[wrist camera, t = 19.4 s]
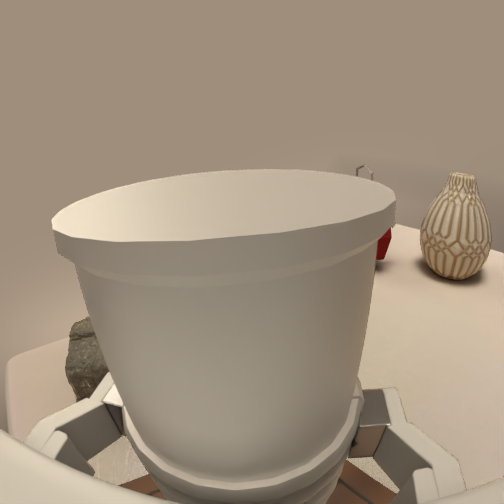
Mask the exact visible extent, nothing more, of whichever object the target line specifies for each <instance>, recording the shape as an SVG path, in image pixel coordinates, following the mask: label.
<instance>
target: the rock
mask: <svg viewBox="0 0 504 504" xmlns="http://www.w3.org/2000/svg"><path fill="white" fill-rule="evenodd" d="M69 337H70V342H69V349H68V351H69V353H68V356H67V358H66V366H65V371H66V376H67V378H68V382H69V384H70V385H71V386H72V388H73V391H74V393H75V395H76V397H77V401H76V403H77V402H79V401H81V400H83V399H85V398H88V399H89V398H90V397H91V396H92V394H93V393H94V391H95V390H96V388H97V387H98V386H99V384H100V383H101V381H102V380H103V378H104V377H105V376H106V374H107V373H108V372H110V371H109V369H108V366H107V364H106V361H105V359H104V356H103V354H102V351H101V348H100V345H99V343H98V340H97V337H96V334H95V331H94V328H93V325H92V322H91V319H90V317H86V318H85V319H83V320H81V321H79V322H76V323H74V325H73V326H72V328H71V331H70V335H69Z"/></svg>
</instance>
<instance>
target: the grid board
mask: <svg viewBox="0 0 504 504" xmlns="http://www.w3.org/2000/svg"><path fill="white" fill-rule="evenodd" d="M118 486H121V487H124V488H127V489H130V490H133V491H136V492H140V493H143V494H146V495H150V496H154V497H157V498H161V499H165V500H167V499H166V498H165V497H164V495H163V494H162V492H161V491H160V489H159V488H158V486H157V485H156V483H155V482H154V481H153V479H152V478H151V476H150V475H149V474H148V475H145V476H143V477H140V478H138V479H135V480H132V481H130V482H127V483H124V484H121V485H118ZM396 495H397V494H396V493H394V492H393V491H391V490H390V489H388V488H386V487H385V486H383V485H382V484H380V483H379V482H377V481H376V480H375V479H373V478H372V477H370V476H369V475H367V474H366V473H364V472H363V471H362V470H360V469H359V468H357V467H356V466H354V465H353V464H352V463H350V462H349V461H348V460H345V463H344V466H343V470H342V472H341V475H340V476H339V478H338V482H337V485H336V487H335V489H334V491H333V492H332V494H331V495H330V497H329V498H328V500H327V501H326V504H389V503H390V502H391V501H392V499H393V498H394V497H395V496H396Z"/></svg>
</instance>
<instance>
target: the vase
mask: <svg viewBox="0 0 504 504" xmlns="http://www.w3.org/2000/svg"><path fill="white" fill-rule="evenodd" d="M491 243H492V232H491V223H490V219H489V216H488V213H487V210H486V207H485V205H484V203H483V201H482V199H481V197H480V195H479V192H478V188H477V183H476V178H475V177H474V176H472V175H468V174H463V173H456V172H451V173H450V175H449V178H448V180H447V183H446V185H445V187H444V188H443V190H442V191H441V192H440V193H439V194H438V196H437V197H436V198H435V199H434V201H433V202H432V203H431V205H430V207H429V208H428V210H427V212H426V214H425V217H424V220H423V223H422V226H421V230H420V245H421V250H422V254H423V256H424V259H425V261H426V262H427V264H428V265H429V266H430V268H431V269H432V270H433V271H434V272H435V273H436V274H438V275H440V276H442V277H445V278H448V279H454V280H461V279H465V278H468V277H470V276H472V275H473V274H475V273H476V272H477V271H479V269H480V268H481V267H482V266H483V264H484V263H485V261H486V259H487V257H488V255H489V252H490V249H491Z"/></svg>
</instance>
